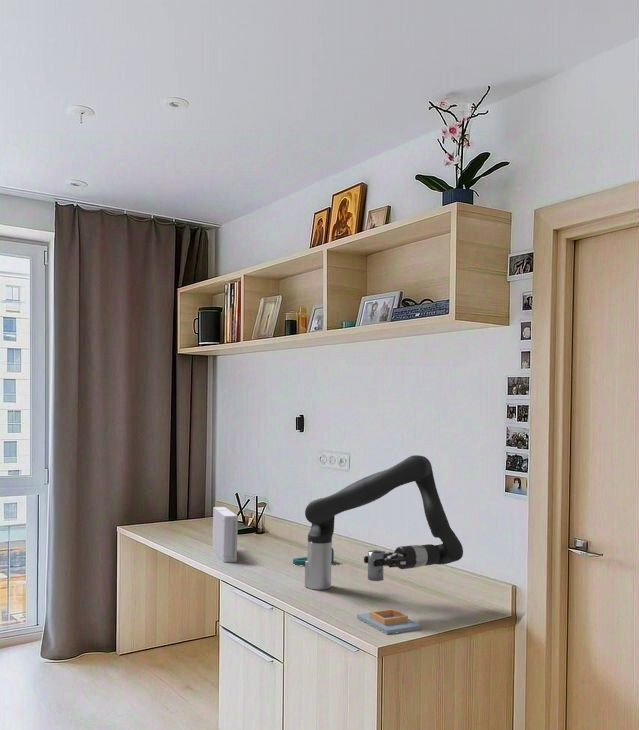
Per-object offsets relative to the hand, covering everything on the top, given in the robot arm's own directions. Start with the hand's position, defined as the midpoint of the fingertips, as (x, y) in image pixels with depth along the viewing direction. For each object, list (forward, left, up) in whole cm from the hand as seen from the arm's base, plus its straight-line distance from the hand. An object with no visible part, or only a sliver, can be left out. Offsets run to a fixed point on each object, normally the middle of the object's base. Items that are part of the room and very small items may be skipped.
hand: (369, 561), depth 242 cm
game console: (-91, +54, -18) cm, 108 cm away
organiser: (+8, -4, -18) cm, 20 cm away
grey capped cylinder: (+2, +2, -6) cm, 7 cm away
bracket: (-51, +61, -18) cm, 82 cm away
